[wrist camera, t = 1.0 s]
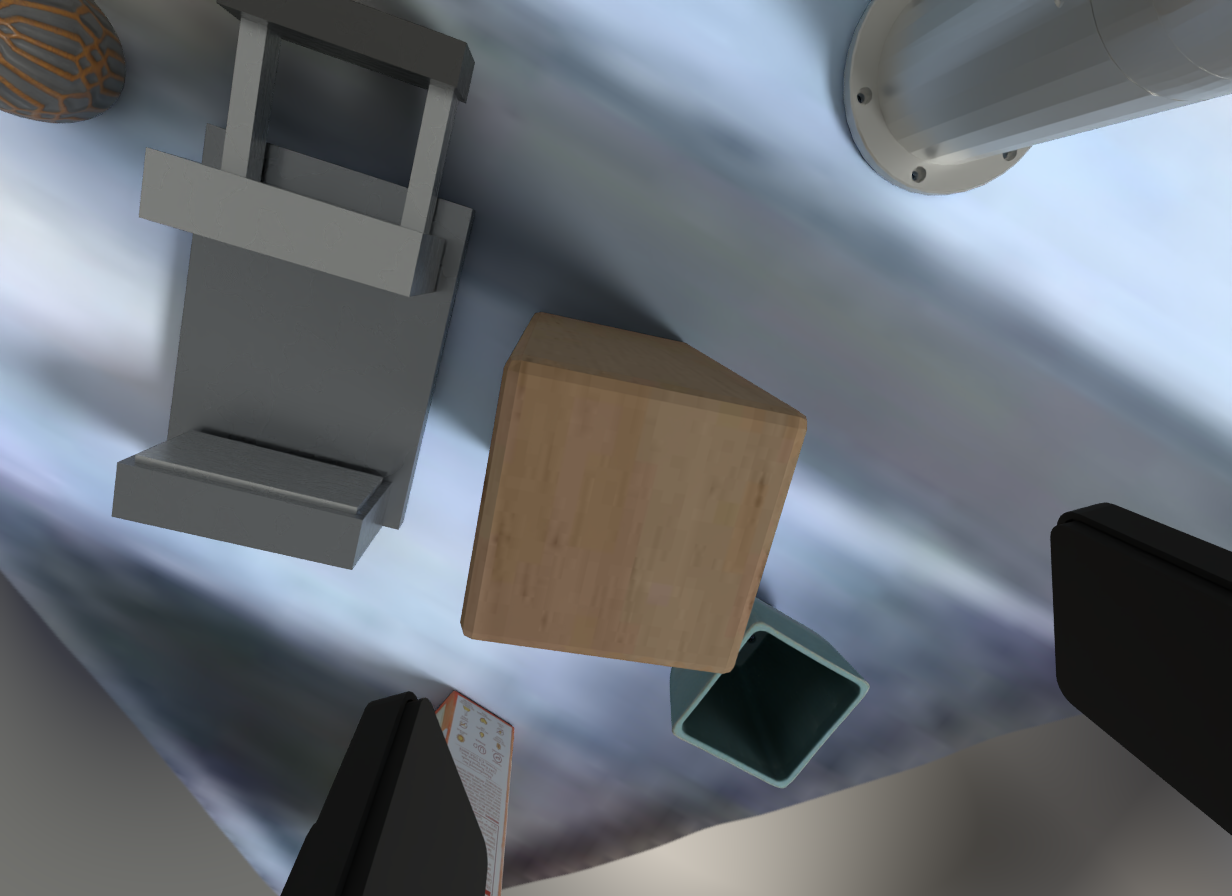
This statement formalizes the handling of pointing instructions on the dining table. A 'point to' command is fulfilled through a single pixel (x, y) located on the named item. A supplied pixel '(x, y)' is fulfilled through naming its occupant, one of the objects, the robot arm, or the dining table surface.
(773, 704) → the flower pot
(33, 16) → the vase
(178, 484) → the vise
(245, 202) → the sliding jaw
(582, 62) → the dining table surface
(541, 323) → the wooden block
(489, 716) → the cracker box
